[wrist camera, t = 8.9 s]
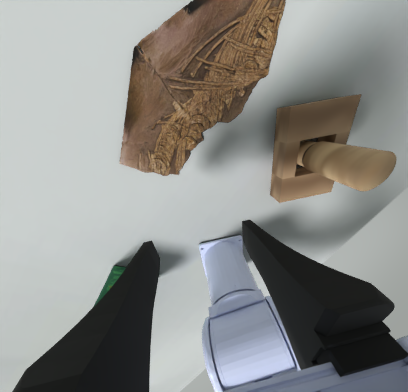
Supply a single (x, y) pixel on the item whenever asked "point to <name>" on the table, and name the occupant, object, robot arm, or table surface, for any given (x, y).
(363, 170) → the peg
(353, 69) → the table surface
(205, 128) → the wooden fragment
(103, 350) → the robot arm
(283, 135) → the board
